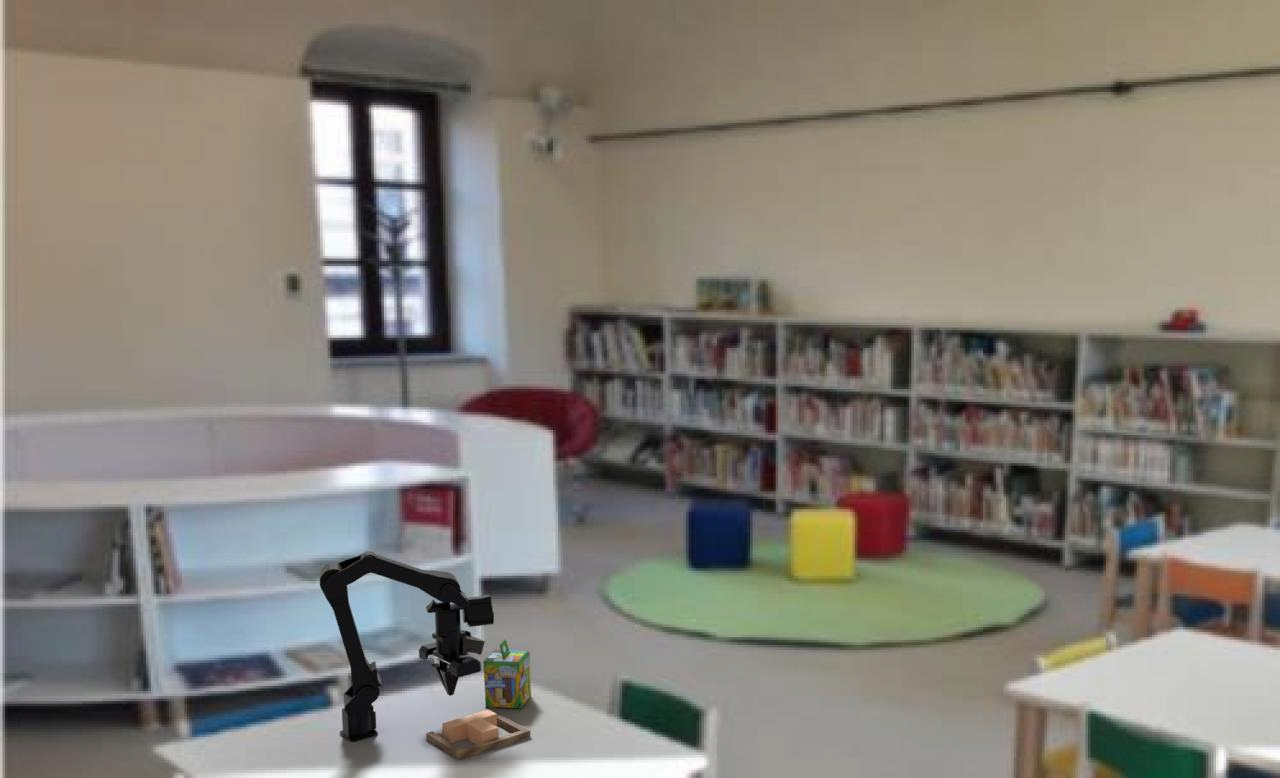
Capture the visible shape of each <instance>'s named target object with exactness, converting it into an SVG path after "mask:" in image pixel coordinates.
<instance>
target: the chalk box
mask: <svg viewBox="0 0 1280 778" xmlns="http://www.w3.org/2000/svg"><path fill="white" fill-rule="evenodd" d="M504 647H505V649H504ZM530 658H531V657H530V650H529V651H528V650H516V649H510V648H509V645H508V643H507V639H503V640H502V641H501V643H500V644H499V649H494V650H493V651H492V652H491V653H490V654H489V655H488V656H487V657H486V658H484V660H483V661H482V662H483V676H484V677H483V679H484V697H485V698H484V701H485V708H498V709H499V708H502V709H503V708H504V709H522V708H523V706H524V705H525V704H526V703H527V702H528V700H529V699H530V698H531V697H532V686H531V684H532V683H531V659H530Z"/></svg>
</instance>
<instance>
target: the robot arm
mask: <svg viewBox="0 0 1280 778" xmlns="http://www.w3.org/2000/svg"><path fill="white" fill-rule="evenodd" d="M368 574H374V575H377V576H380V577H382V578H383V577H384V578H387V579H389V580H393V581H394V582H395V581H396V582H398V583H401V584H405V585H407V586H408V585H409V586H411V587H413V588H417V589H419V590H420V591H422V592H424V593H425V594H427V595H428V596H430V597H432V598H434V599H432V600H431V601H430V602H429V604H428V605H426V607H425V608H426V609H425V610H426V612H427V614H431V613H432V614H433V613H434V624H435V625H434V626H435V632H433V633H431V638H432V639H434V640H435V642H430V643H428V644H422V645H421V646H420V648H419V649H418V657H419V659H421V660H423V661H427V660H428V658H429V656H432V658H433V663H432V664H430V667H431V668H432V669H433V670H434V672H435V674H436V675H437V677H438V679H439V681H440V683H441V684H442V686H443V688H444V690H445V692H446V695H448V696H449V697H451V696H454V694H455V690H456V687H457V685H458V680H459V678H463V677H466V676H470V675H473V674H477V673H480V672H481V671H482V662H481V661H479V660H478V659H477V658H475V657H473V656H471V655H468V653H471V654H472V653H473V654H477V655H478V656H481V655H482V654H483V650H484V647H485V643H486V642H485V640H483V639H481V638H479V637H477V636H476V637H475V636H472V633H471V631H468V630H465V629H462V625H461V616H462V622H463V624H467V626H468V628H471V627H473V628H474V627H480V626H482V627H483V626H490V625H494V621H495V619H494V618H495V613H494V610H493V605H492V604H493V603H492V596H491V595H490V594H483V595H480V596H471V597H467V595H466V593H465V592H463V591H462V590H461V586H460V584H459V581H458V580H457V577H456V576H455V575H454V574H453V573H452V572H448V571H442V570H441V571H440V570H431V569H429V570H428V569H427V570H426V569H421V568H419V567H416V566H412V565H408V564H407V563H403V562H400V561H397V560H395V559H392V558H388V557H385V556H382V555H380V554H376V553H375V552H373V551H365V552H363V553H360V554H359V555H357V556H353V557H350V558H346V559H344V560H342V561H339V562H337V563H336V562H330V563H326V564H324V566H323V567H321V570H320V571H319V576H318V577H319V581H318V582H319V587H320V589H321V591H322V593H323V596H324V597H325V599H326V600H327V602H328V604H329V605H330V607H331V609H332V611H333V614H334V617H335V621H336V623H337V626H338V630H339V631H338V632H339V634H340V636H341V640H342V643H343V647H344V650H345V653H346V656H347V660H348V663H349V666H350V674H351V675H350V676H351V685H350V687H348V689H347V690H346V691H345V692H344V693H343V708H341V718H342V720H341V721H342V730H339V735H341V736H343V737H344V738H345V739H347V740H349V742H355V741H359V740H363V739H366V738H370V737H372V736H376V735H378V734H379V731H377V730H376V729H377V714H376V711H375V710H374V709H375V708H374V705H373V703H375V702H376V701H377V699H378V698H379V697H380V693H381V692H380V688H382V684H383V683H382V680H381V676H380V674H379V673H378V669H377V662H376V661H374V660H373V662H369V660H368V658H367V657H366V655H365V652H364V648H363V645H362V641H361V637H360V634H359V631H358V628H357V627H358V626H357V625H356V622H355V617H354V615H353V612H352V607H351V604H350V600H349V593H348V592H349V591H348V590H349V589H348V586H349V585H350V584H353V583H354V582H355V583H356V581H358V580H360V579H361V578H362V577H365V575H368ZM436 600H437V601H439V602H437V601H436ZM461 611H462V614H461ZM467 655H468V656H467ZM464 656H465V657H464Z"/></svg>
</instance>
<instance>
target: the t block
mask: <svg viewBox="0 0 1280 778" xmlns="http://www.w3.org/2000/svg"><path fill="white" fill-rule="evenodd" d="M496 713H497V712H496ZM496 713H495V712H493V711H492V710H490V709H485V710H482V711H479V712H475V713H472V714H469V715H466V716H462V717H459V718H456V719H452V720H448V721H445V722H442V723H441V724H442V725H441V726H442V727H441V728H442V729H441V730H442V737H443V738H444V739H446V740H448V741H449V742H451V743H452V744H454V743H455V742H459V741H462V740H466V739H467V740H469V741H471V742H472V743H474V745H477V744H480V743H483V742H486V741H489V740H493V739H496V738H499V727H498V724H497V714H496Z"/></svg>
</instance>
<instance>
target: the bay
mask: <svg viewBox="0 0 1280 778" xmlns="http://www.w3.org/2000/svg"><path fill="white" fill-rule="evenodd" d="M494 713H496V714H497V725H498V724H499V725H498V726H500V727H502V728H504V729H506V730H507V731H509V732H511V733H508V734H505V735H502V736H498V738H496V739H493V740H489V741H486V742H483V743H480V744H474V745H471V746H467V747H464V748H461V747H460V746H457V745H456V744H454V743H451V742H449V741H448V740H446V739H444V738H443V736H441V735H440V734H438V733H436V732H434V731H432V730H430V731H429V732H426V734H425V735H426V739H425V740H427V741H428V742H430V743H431V744H433V745H435V746H436V747H438V748H439V749H441V750H442V751H444V752H446V753H447V754H449V755H450V756H451V757H454V758H455V759H457V760H459V761H462V760H464V759H468V758H470V757H473V756H476V755H480V754H483V753H486V752H489V751H492V750H495V749H498V748H502V747H504V746H507V745H511V744H513V743H517V742H520V741H523V740H526V738H527V739H530V738H531V730H530V729H528V728H526V727H524V726H522V725H520V724H519V723H517V722H515V721H512V720H511V719H509V718H508V717H506V716H504V715H502V714H500V713H498V712H496V711H495V712H494Z"/></svg>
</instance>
